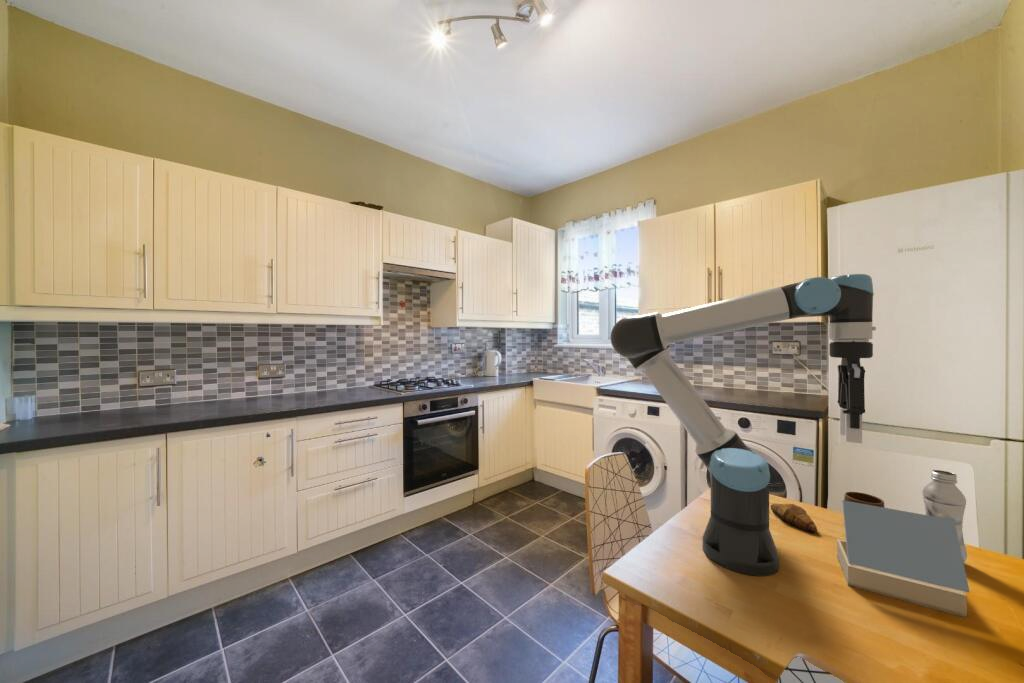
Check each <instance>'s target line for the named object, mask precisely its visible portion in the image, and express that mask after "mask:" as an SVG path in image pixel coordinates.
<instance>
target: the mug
mask: <svg viewBox="0 0 1024 683" xmlns="http://www.w3.org/2000/svg"><path fill="white" fill-rule="evenodd" d="M843 500H844V501H850V502H855V503H861V504H867V505H872V506H878V507H883V508H886V507H885V501H884V500H883V499H882V498H879V497H878V496H875V495H873V494H869V493H864V492H857V491H847V492H845V493H844V498H843ZM843 525H844V527H845V524H843Z"/></svg>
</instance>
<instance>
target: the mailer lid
mask: <svg viewBox="0 0 1024 683" xmlns="http://www.w3.org/2000/svg"><path fill="white" fill-rule="evenodd" d="M841 502H842V503H841V504H842V510H843V511H842V512H843V523H844V524H845V526H844V531H845V532H844V533H845V541H846V544H847V555H848V563H851V564H855V565H859V566H863V567H867V568H871V569H876V570H880V571H884V572H888V573H892V574H896V575H900V576H904V577H908V578H912V579H916V580H920V581H924V582H928V583H932V584H936V585H940V586H944V587H948V588H952V589H956V590H960V591H963V592H964V593H970V587H969V584H968V583H969V582H968V577H967V573H966V568H965V563H963V558H962V554H961V549H960V544H959V540H958V535H957V530H956V526H955V521H954V520H950V519H945V518H939V517H934V516H928V515H926V514H921V513H916V512H910V511H904V510H899V509H893V508H888V507H885V508H883V507H878V506H872V505H867V504H861V503H855V502H850V501H844V499H843V500H842V501H841ZM844 524H843V525H844Z"/></svg>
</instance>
